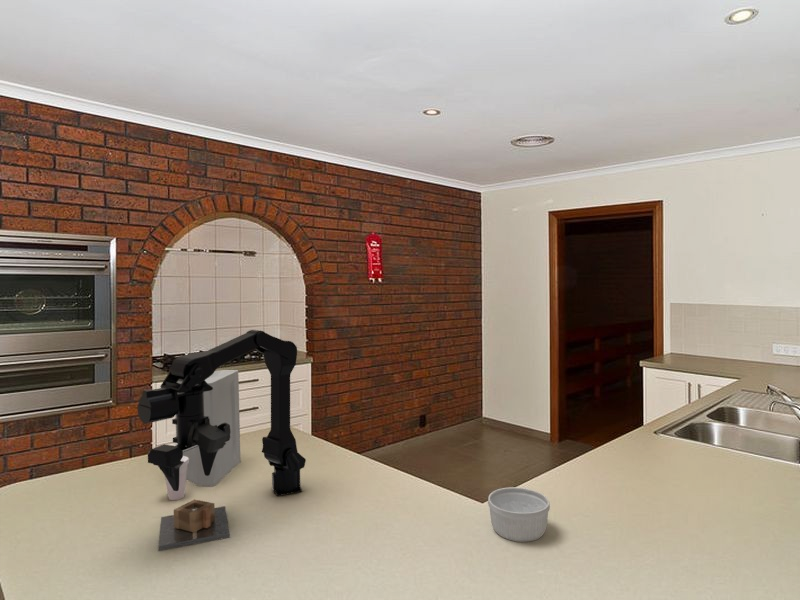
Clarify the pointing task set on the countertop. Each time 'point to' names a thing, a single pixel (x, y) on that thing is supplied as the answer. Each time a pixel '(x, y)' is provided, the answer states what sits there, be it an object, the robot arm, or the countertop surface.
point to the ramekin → (519, 513)
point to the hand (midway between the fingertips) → (192, 482)
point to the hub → (180, 537)
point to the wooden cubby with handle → (194, 515)
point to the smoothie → (182, 481)
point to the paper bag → (219, 410)
